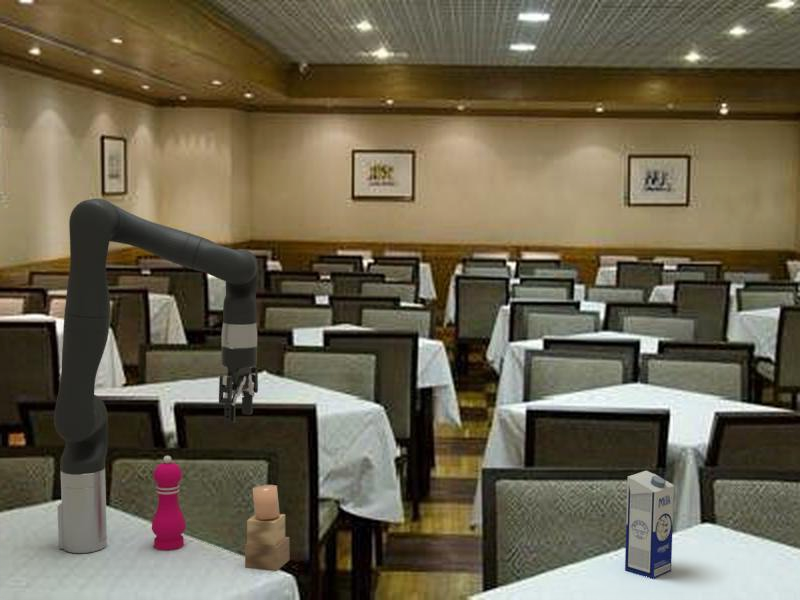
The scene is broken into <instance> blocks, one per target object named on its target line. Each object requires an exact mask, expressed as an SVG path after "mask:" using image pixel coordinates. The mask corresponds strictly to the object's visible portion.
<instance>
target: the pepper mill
mask: <svg viewBox="0 0 800 600" xmlns="http://www.w3.org/2000/svg"><path fill="white" fill-rule="evenodd" d="M162 459H163V462H162V463H160V464H158V465H157V466H156V467H155V469H153V470H154V471H153V479H154V481H155V483H156V484H157V485H156V486H155V488H156V489H155V492H156V493H157V495H158V503H157V508H156V511H155V514H154V516H153V518H152V522H151V530H152V531H151V532H153V534H154V535H155V537H154V539H153V540H154V541H153V543H154V545H153V546H154V548H155V549H157V550H159V549H161V551H170V550H169V549H174V550H178V549H180V547H181V548H183V546H184V543H185V542H184V539H185V538H184V535H182V534H183V533H184V531H185V530H186V520H185V516H184V513H183V512H182V510H181V508H180V505H179V500H178V499H179V498H178V497H179V496H178V495H179V492H180V491H181V490H180V483H179V482H180V481H181V480H182V478H183V474H182V473H183V472H182V468H181V467H180V466H179V464H177V463H175V462H172V460H173V459H172V457H171V456H170V455H165V456H164V457H163V458H162ZM177 548H178V549H177Z"/></svg>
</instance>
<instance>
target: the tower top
mask: <svg viewBox="0 0 800 600" xmlns="http://www.w3.org/2000/svg"><path fill="white" fill-rule="evenodd" d="M279 514H280V515H279V516H278V517H276V518H272V519H265V520H260V519H256V518H255V514H253V516H251V517H249V518H248V519H247V520H246V527H247V528H246V531H247V532H246V541H247V542H246V543H247V544H252V545H262V546H272V547H275V546H276V545H277V544H278V543H280V542H281V541H282V540H283V539H284V538H285V537H286V513H285V514H284V513H279Z"/></svg>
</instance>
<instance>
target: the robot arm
mask: <svg viewBox="0 0 800 600" xmlns="http://www.w3.org/2000/svg"><path fill="white" fill-rule="evenodd" d="M68 223H69V224H68V225H69V252H70V259H69V260H70V261H69V262H70V265H69V273H68V279H67V286H66V287H67V288H66V298H65V307H64V316H63V332H62V351H61V369H60V370H61V372H60V381H59V387H58V394H57V396H56V397H57V398H56V403H55V408H54V415H53V424H54V428H55V430H56V432H57V434H58V435H59V437H60V438H61V439H63V440H64V441H65V445H64V450H63V452H62V454H61V457H60V462H59V463H60V466H59V468H60V492H61V493H60V495H61V503H60V504H58V505H57V529H58V533H57V534H58V549H61V550H64V551H65V552H68V553H74V554H85V553H86V554H88V553H94V552H98V551H100V550H102V549H105V547H107V545H108V543H107V542H108V540H107V539H108V533H107V531H108V530H107V529H108V527H107V525H108V524H107V498H106V497H107V493H106V491H107V487H106V458H107V454H108V445H109V444H108V443H109V436H108V435H109V434H108V433H109V432H108V431H109V422H108V421H109V418H108V417H109V416H108V410H107V407H106V405H105V403H104V401H103V400H102V399H101V398H100V397H99V396H98V395H96V394H95V386H96V377H97V373H98V370H99V367H100V363H101V361H102V360H103V359H102V358H103V356H104V353H105V350H106V345H107V343H108V338H109V333H110V332H109V329H110V319H111V317H110V316H111V300H110V292H109V291H110V290H109V286H108V285H109V284H108V279H107V259H108V254H109V253H108V252H109V245H110V242H111V243H118V244H124V245H128V246H132V247H136V248H137V249H140V250H143V251H145V252H148V253H150V254H152V255H155V256H157V257H159V258H161V259H163V260H165V261H167V262H170V263H173V264H176V265H178V266H181V267H185V268H188V269H190V270H194V271H199V272H202V273H203V272H204V273H206V274H208V275H210V276H211V277H214V278H217V279H219V280H222V281H224V282H225V296H224V299H223V304H222V305H223V306H222V307H223V308H222V310H223V311H222V312H223V313H222V329H221V353H220V354H221V358H220V359H221V361H220V362H221V365H222V366H223V367H224V368H225V367H226V369H227V373H226V375H225V374H220V375H219V379H218V380H219V384H218V385H219V386H218V404H222V405H224V414H223V415H224V417H223V418H224V419H223V420H224V422H225V424H226V423H229V424H234V423H235V422H236V403H237V399H238V397H240V396H241V414H243V415H245V416H246V415H248V416H249V415H251V414H253V408H254V407H253V405H254V404H253V403H254V401H253V399H254V397H255V393H256V394H258V391H259V380H258V379H259V377H258V376H259V375H258V374H259V372H258V371H259V370H258V369H259V368H258V366H257V363H258V329H257V327H258V326H257V300H256V299H257V288H258V278H259V277H258V275H259V264H258V259H257V257H256V255H255V254H254V253H253V252H252V251H251V250H248V249H244V248H239V249H234V248H229V247H226V246H223V245H220V244H217V243H216V242H214V241H212V240H211V239H208V238H205V237H203V236H200V235H198V234H194V233H190V232H186V231H183V230H180V229H176V228H173V227H170V226H168V225H167V226H166V225H163V224H159V223H157V222H153V221H150V220H148V219H145V218H142V217H140V216H137V215H135V214H133V213H131V212H129V211H126V210H124V209H123V208H121V207H119V206H117V205H115V204H113V203H111V202H110V201H108V200H106V199H103V198H95V197H94V198H90V199H85V200H82V201H80V202H78V204H76V205H75V206H74V207H73V209H72V211H71V212H70V215H69V222H68Z"/></svg>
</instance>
